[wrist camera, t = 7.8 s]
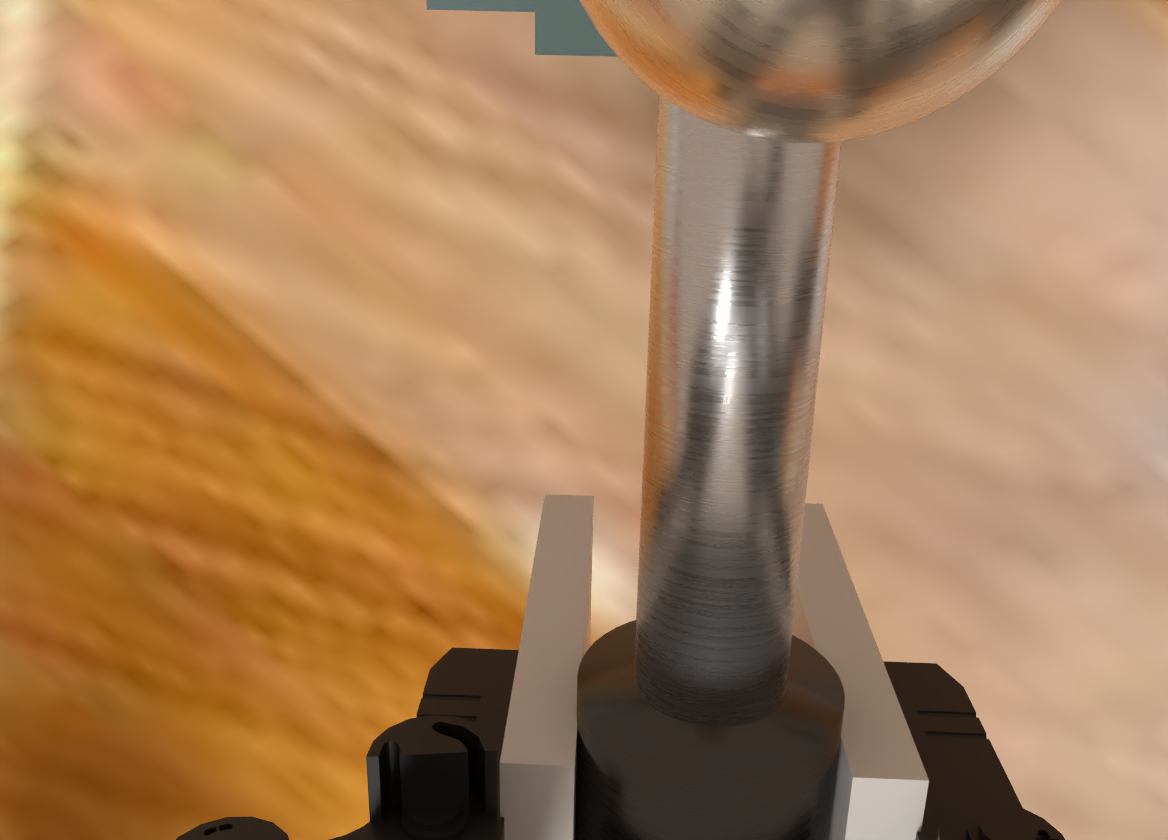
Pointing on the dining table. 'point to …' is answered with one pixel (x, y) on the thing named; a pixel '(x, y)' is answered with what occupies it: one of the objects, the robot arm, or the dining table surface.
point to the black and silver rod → (740, 386)
